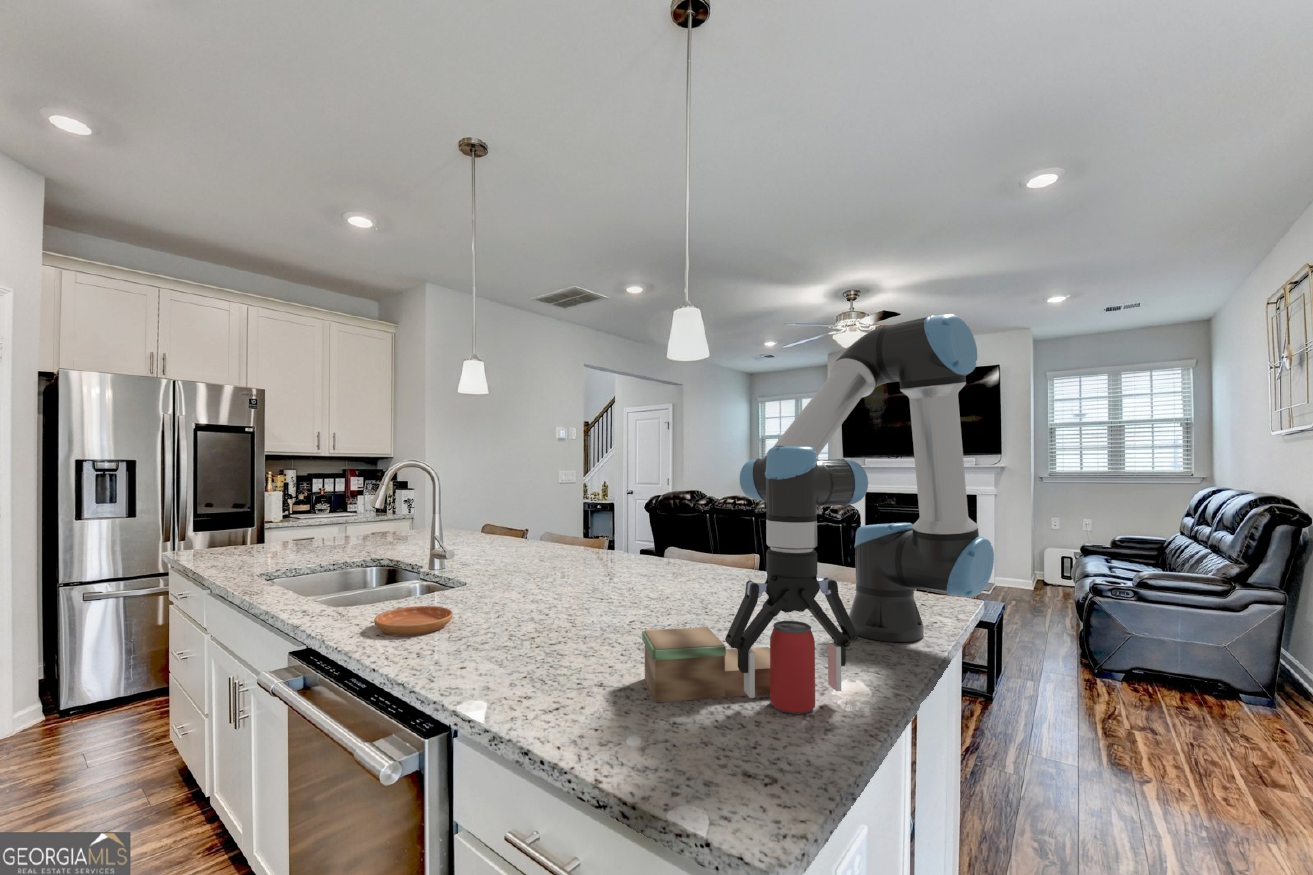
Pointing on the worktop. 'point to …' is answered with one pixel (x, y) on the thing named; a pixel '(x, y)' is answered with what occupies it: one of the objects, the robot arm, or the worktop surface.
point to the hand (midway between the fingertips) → (792, 691)
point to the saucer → (413, 620)
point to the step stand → (697, 666)
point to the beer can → (792, 667)
